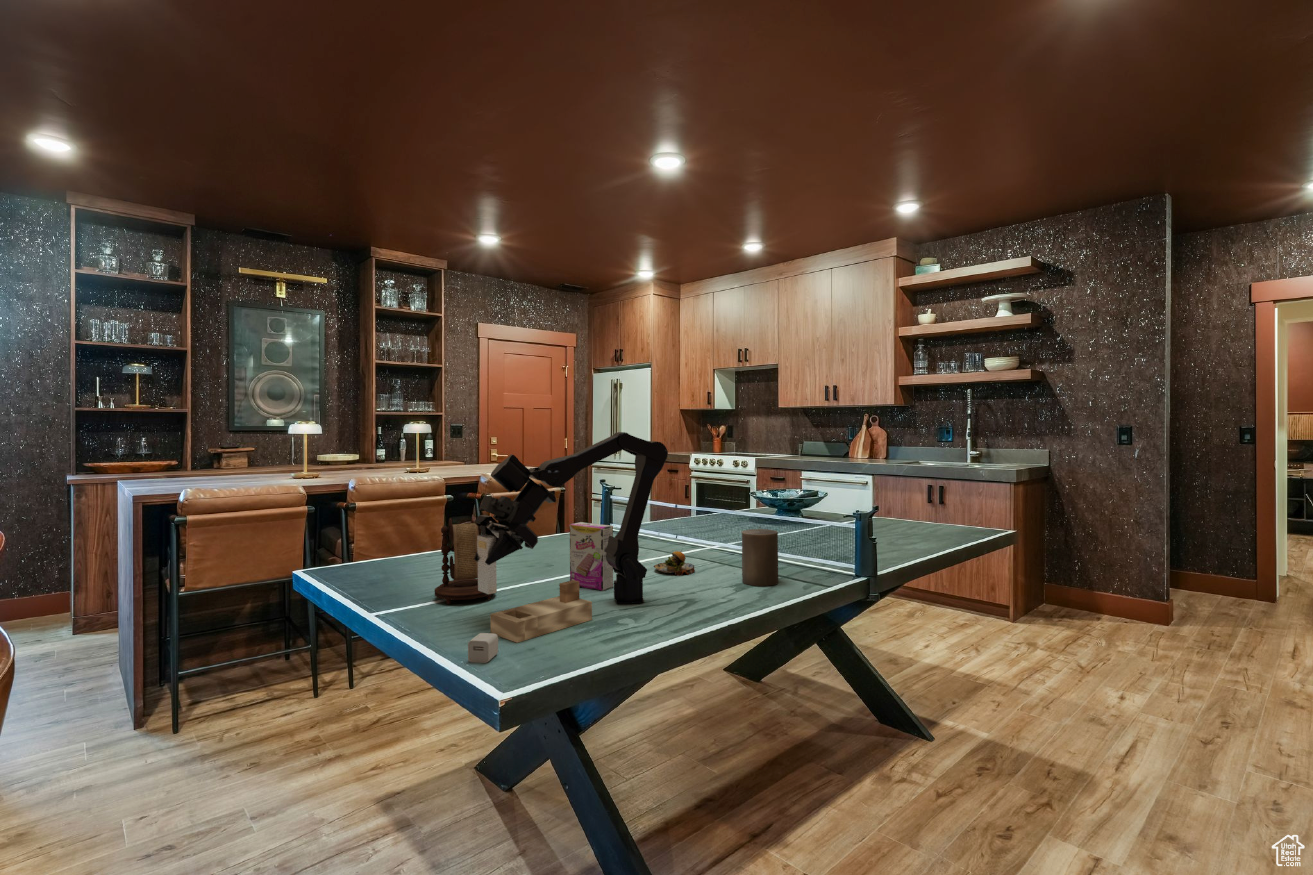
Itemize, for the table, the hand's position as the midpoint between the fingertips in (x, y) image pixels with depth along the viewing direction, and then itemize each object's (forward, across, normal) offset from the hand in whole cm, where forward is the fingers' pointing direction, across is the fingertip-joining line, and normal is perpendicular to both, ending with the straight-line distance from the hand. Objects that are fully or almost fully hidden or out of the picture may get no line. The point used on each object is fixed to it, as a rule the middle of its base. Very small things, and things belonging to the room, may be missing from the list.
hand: (481, 562), depth 144 cm
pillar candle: (-41, +17, +61) cm, 76 cm away
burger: (-36, -8, +56) cm, 67 cm away
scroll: (+4, -23, +15) cm, 28 cm away
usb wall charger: (+16, +18, +4) cm, 24 cm away
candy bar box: (-16, -10, +36) cm, 41 cm away
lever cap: (+4, 0, +6) cm, 7 cm away
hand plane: (+3, +10, +16) cm, 19 cm away
